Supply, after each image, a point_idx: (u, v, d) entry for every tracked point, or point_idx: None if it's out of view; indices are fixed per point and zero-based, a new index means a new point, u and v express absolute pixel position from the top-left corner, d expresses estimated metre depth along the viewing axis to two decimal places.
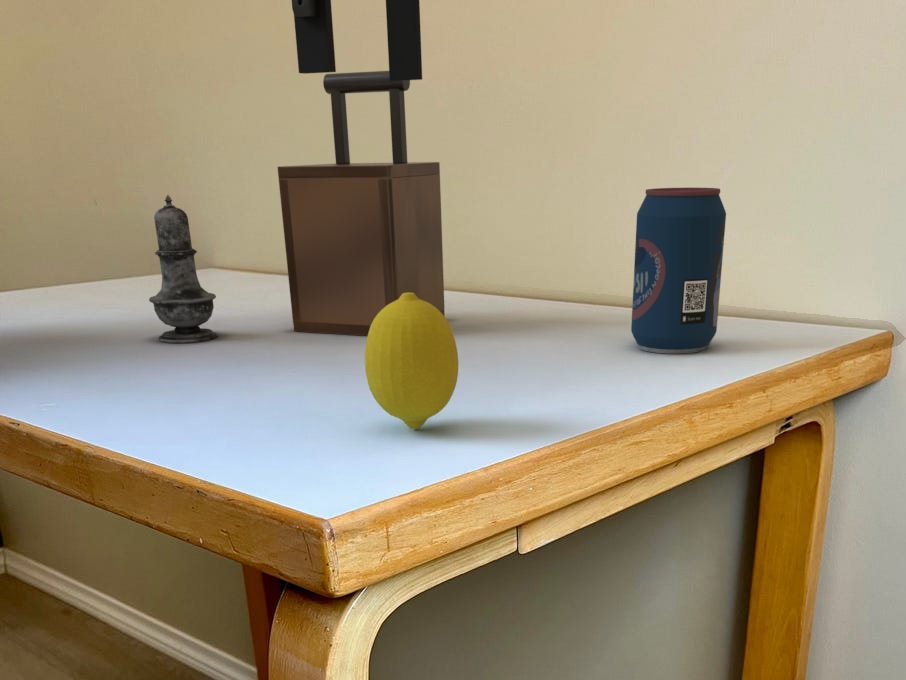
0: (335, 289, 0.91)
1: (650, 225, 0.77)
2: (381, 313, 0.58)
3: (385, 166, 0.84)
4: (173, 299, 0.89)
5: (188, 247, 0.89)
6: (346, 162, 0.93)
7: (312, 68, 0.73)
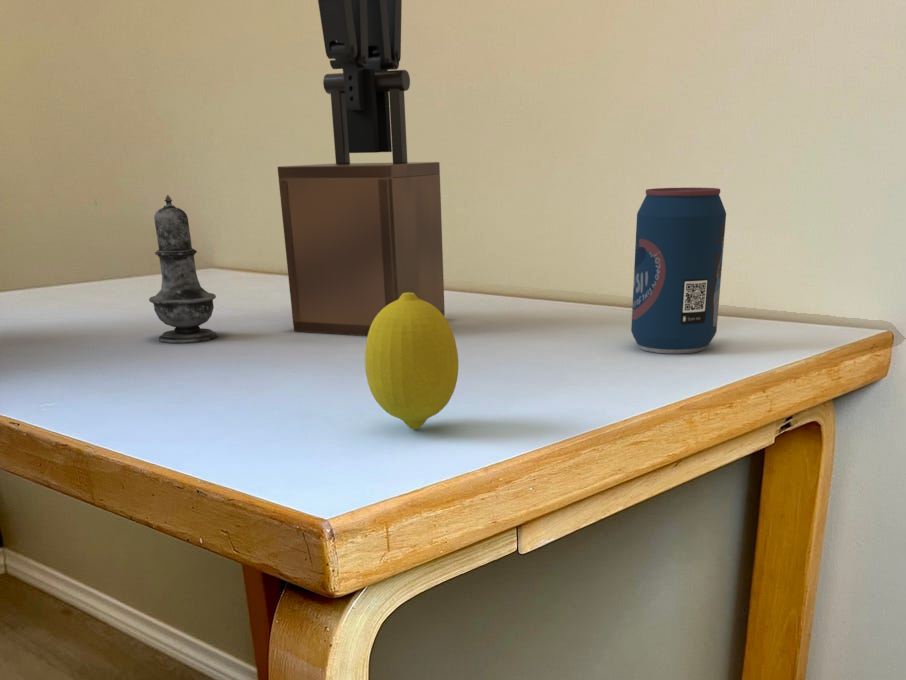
0: (335, 289, 0.91)
1: (650, 225, 0.77)
2: (381, 313, 0.58)
3: (385, 166, 0.84)
4: (173, 299, 0.89)
5: (188, 247, 0.89)
6: (346, 162, 0.93)
7: (360, 149, 0.90)
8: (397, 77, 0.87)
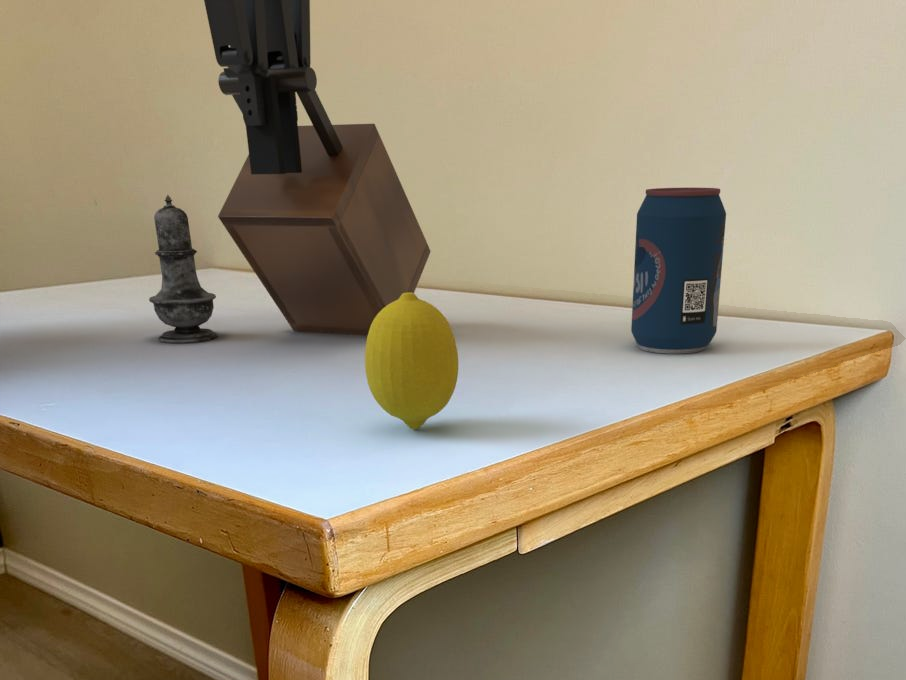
0: (321, 304, 0.89)
1: (650, 225, 0.77)
2: (381, 313, 0.58)
3: (331, 218, 0.78)
4: (173, 299, 0.89)
5: (188, 247, 0.89)
6: None
7: (263, 170, 0.78)
8: (301, 84, 0.75)
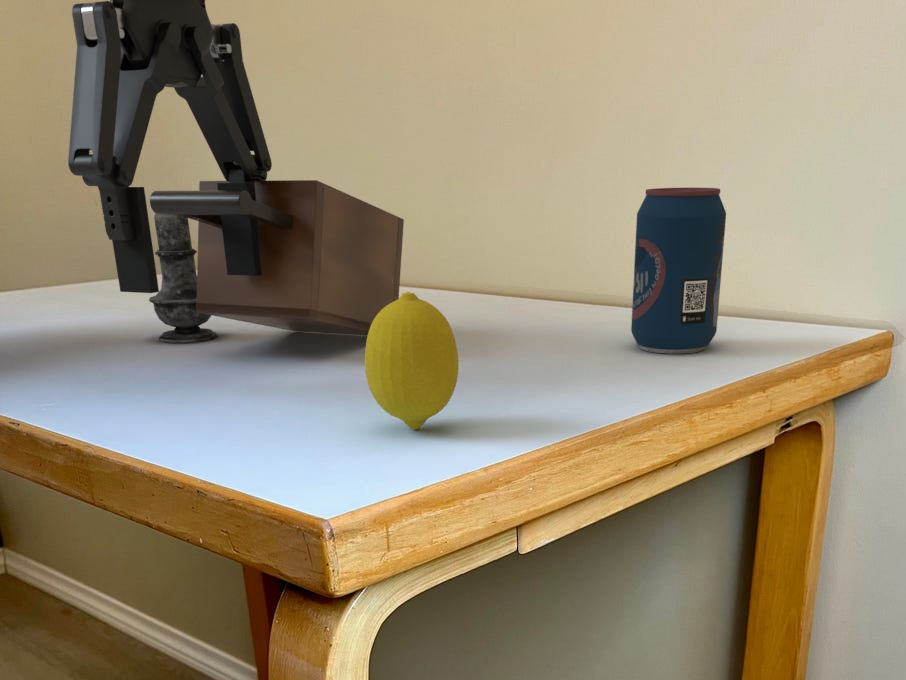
0: (315, 329, 0.89)
1: (650, 225, 0.77)
2: (381, 313, 0.58)
3: (309, 318, 0.78)
4: (173, 299, 0.89)
5: (188, 247, 0.89)
6: None
7: (133, 288, 0.68)
8: (238, 214, 0.71)
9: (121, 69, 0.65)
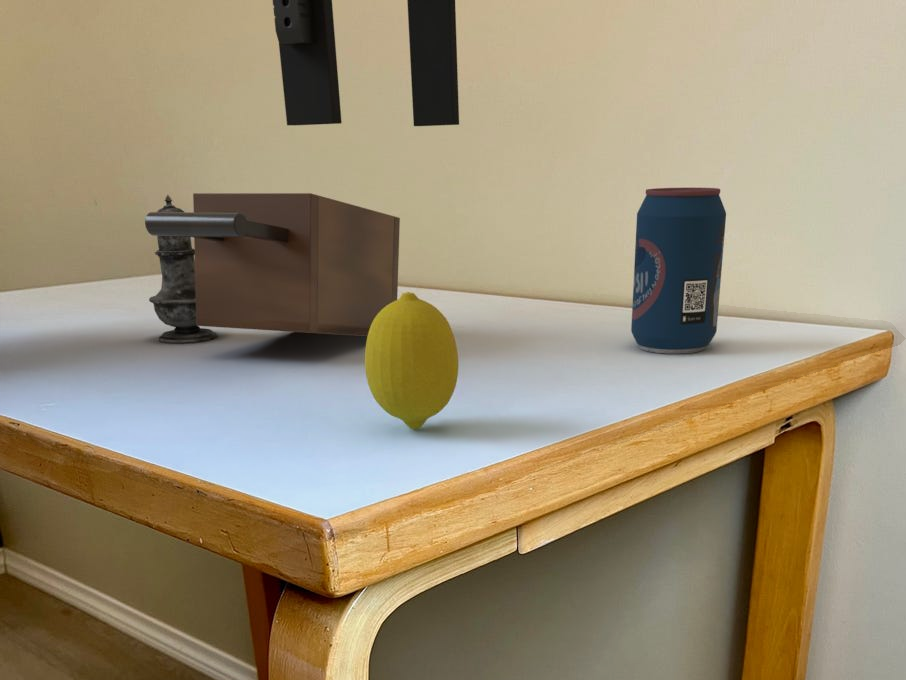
0: None
1: (650, 225, 0.77)
2: (381, 313, 0.58)
3: (309, 332, 0.78)
4: (173, 299, 0.89)
5: (188, 247, 0.89)
6: (223, 236, 0.79)
7: (307, 118, 0.49)
8: (234, 236, 0.71)
9: None
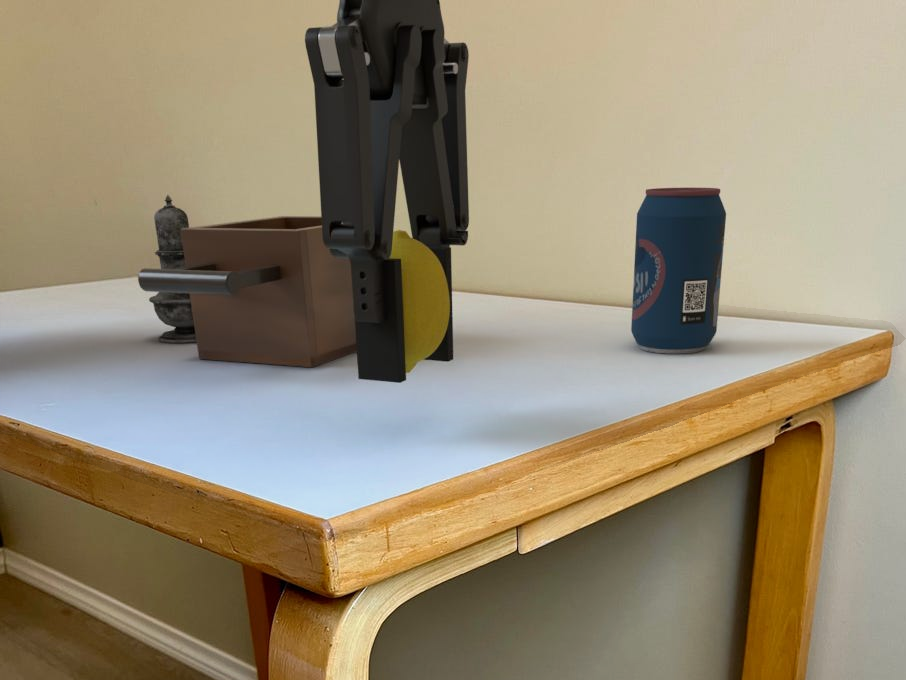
0: None
1: (650, 225, 0.77)
2: None
3: None
4: (173, 299, 0.89)
5: None
6: None
7: (376, 376, 0.57)
8: (228, 295, 0.72)
9: None
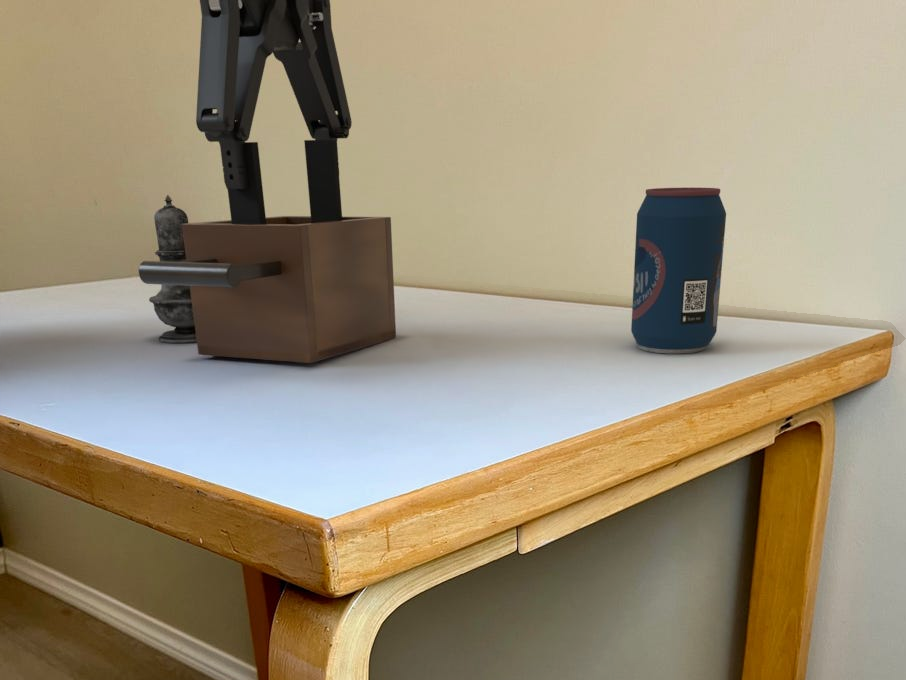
0: None
1: (650, 225, 0.77)
2: None
3: (310, 362, 0.79)
4: (173, 299, 0.89)
5: None
6: None
7: None
8: (228, 287, 0.71)
9: None
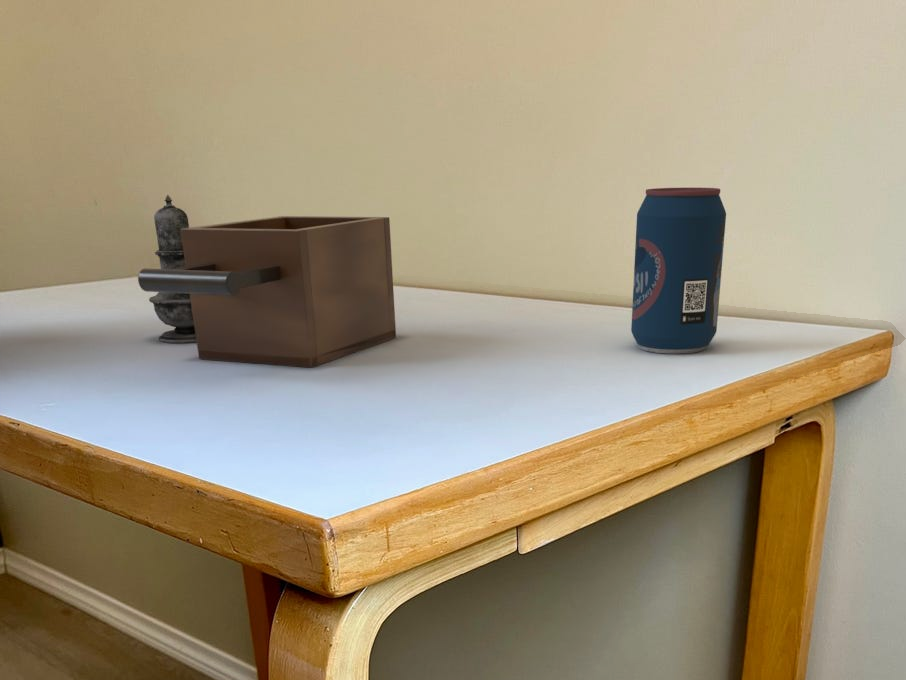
0: None
1: (650, 225, 0.77)
2: None
3: None
4: (173, 299, 0.89)
5: None
6: None
7: None
8: (228, 295, 0.72)
9: None
